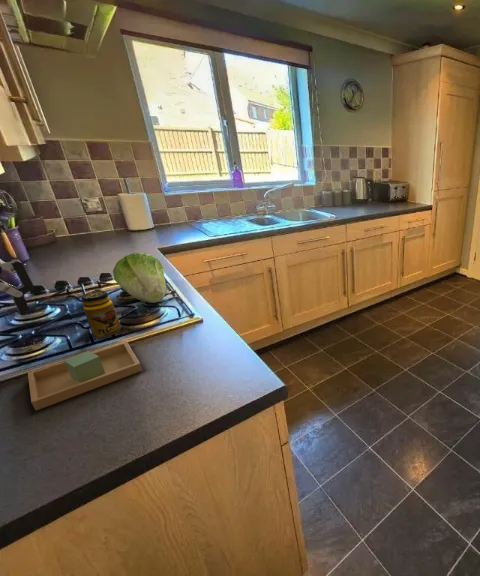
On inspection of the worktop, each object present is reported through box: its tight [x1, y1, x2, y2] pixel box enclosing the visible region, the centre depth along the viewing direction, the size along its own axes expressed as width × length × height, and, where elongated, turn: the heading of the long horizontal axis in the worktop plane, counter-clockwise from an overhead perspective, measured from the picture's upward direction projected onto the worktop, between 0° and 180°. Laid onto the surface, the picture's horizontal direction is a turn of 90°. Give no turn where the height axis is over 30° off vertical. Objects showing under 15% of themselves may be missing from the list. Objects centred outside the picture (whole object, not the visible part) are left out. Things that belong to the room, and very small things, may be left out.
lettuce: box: [112, 251, 167, 304], centre depth 110 cm, size 14×24×14 cm
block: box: [63, 350, 105, 383], centre depth 73 cm, size 4×4×4 cm
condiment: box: [81, 290, 122, 338], centre depth 88 cm, size 7×8×12 cm
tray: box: [27, 341, 143, 411], centre depth 73 cm, size 18×13×3 cm
